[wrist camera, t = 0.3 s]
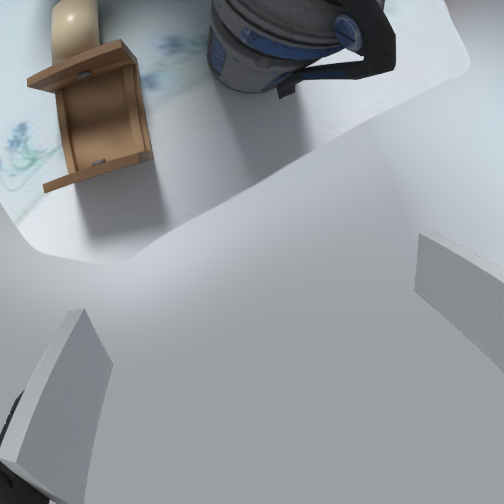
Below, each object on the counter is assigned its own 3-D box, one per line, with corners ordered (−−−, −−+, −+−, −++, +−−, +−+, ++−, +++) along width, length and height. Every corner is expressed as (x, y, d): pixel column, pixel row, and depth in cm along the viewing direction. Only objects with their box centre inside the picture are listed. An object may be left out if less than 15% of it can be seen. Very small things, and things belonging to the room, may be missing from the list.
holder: (57, 87, 26) (26, 78, 19) (136, 59, 27) (120, 38, 20) (73, 181, 31) (44, 193, 24) (153, 158, 32) (140, 162, 25)
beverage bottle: (238, 126, 33) (317, 94, 10) (190, 36, 28) (182, -105, 5) (311, 95, 33) (467, 54, 10) (265, 9, 27) (351, -115, 4)
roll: (65, 21, 23) (43, 9, 18) (104, 4, 23) (85, -13, 18) (67, 71, 26) (42, 64, 21) (108, 54, 26) (86, 42, 21)
